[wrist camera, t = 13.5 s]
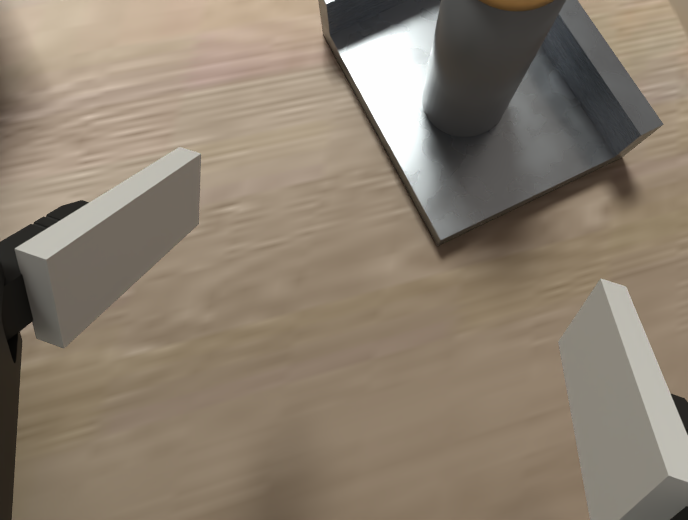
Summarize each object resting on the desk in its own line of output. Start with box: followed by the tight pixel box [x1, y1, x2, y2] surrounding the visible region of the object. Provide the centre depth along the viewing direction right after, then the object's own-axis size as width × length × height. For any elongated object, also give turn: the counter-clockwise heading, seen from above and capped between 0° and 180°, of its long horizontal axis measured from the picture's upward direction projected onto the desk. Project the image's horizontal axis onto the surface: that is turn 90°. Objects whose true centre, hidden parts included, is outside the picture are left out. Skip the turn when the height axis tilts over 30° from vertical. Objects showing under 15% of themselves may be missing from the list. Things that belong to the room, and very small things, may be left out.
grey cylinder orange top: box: [422, 0, 566, 137], centre depth 26 cm, size 6×6×12 cm
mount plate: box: [318, 0, 664, 246], centre depth 31 cm, size 18×14×4 cm
